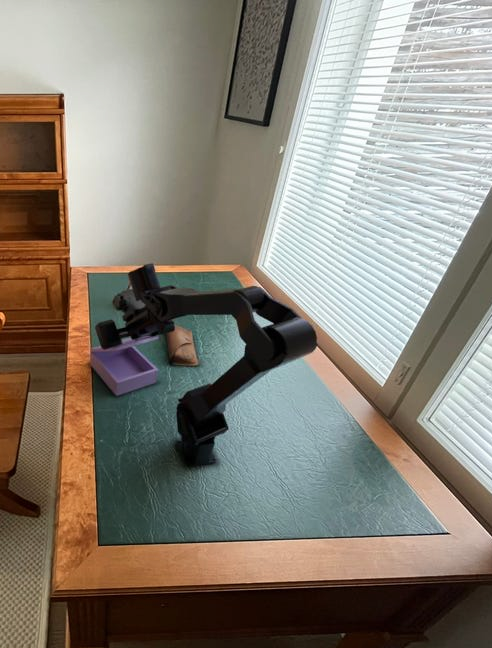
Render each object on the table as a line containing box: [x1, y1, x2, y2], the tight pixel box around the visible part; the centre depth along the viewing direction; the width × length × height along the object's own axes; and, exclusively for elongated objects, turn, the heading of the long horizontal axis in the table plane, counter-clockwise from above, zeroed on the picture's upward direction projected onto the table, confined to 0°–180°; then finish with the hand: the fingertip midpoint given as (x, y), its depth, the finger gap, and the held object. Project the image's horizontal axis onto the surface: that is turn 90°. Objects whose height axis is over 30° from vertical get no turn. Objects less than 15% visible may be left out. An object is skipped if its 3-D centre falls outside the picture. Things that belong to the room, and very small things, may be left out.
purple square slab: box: [89, 332, 160, 352], centre depth 98 cm, size 15×12×5 cm
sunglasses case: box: [166, 323, 199, 367], centre depth 112 cm, size 18×7×7 cm, turn 176°
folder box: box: [89, 346, 159, 397], centre depth 101 cm, size 15×12×4 cm
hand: (120, 336), depth 98 cm, fingers open, 8 cm apart
